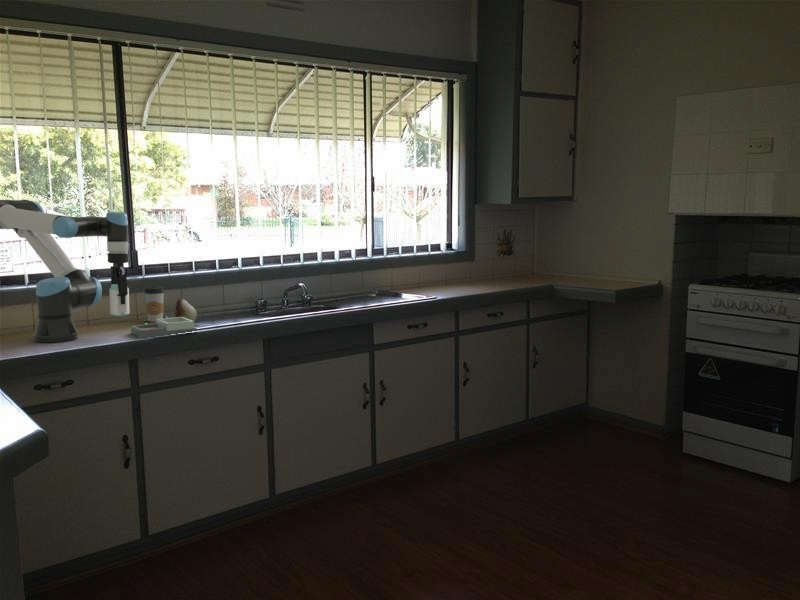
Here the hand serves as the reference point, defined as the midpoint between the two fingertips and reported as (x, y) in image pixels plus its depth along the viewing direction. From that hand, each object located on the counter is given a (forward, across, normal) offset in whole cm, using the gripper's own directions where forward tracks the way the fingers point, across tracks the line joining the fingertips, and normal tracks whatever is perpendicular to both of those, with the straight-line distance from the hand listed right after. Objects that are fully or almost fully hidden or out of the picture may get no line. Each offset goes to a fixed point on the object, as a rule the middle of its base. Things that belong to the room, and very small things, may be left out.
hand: (119, 311), depth 275 cm
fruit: (+10, +12, -30) cm, 34 cm away
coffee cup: (+11, +31, -24) cm, 41 cm away
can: (+2, 0, 0) cm, 2 cm away
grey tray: (+10, -2, -16) cm, 19 cm away
